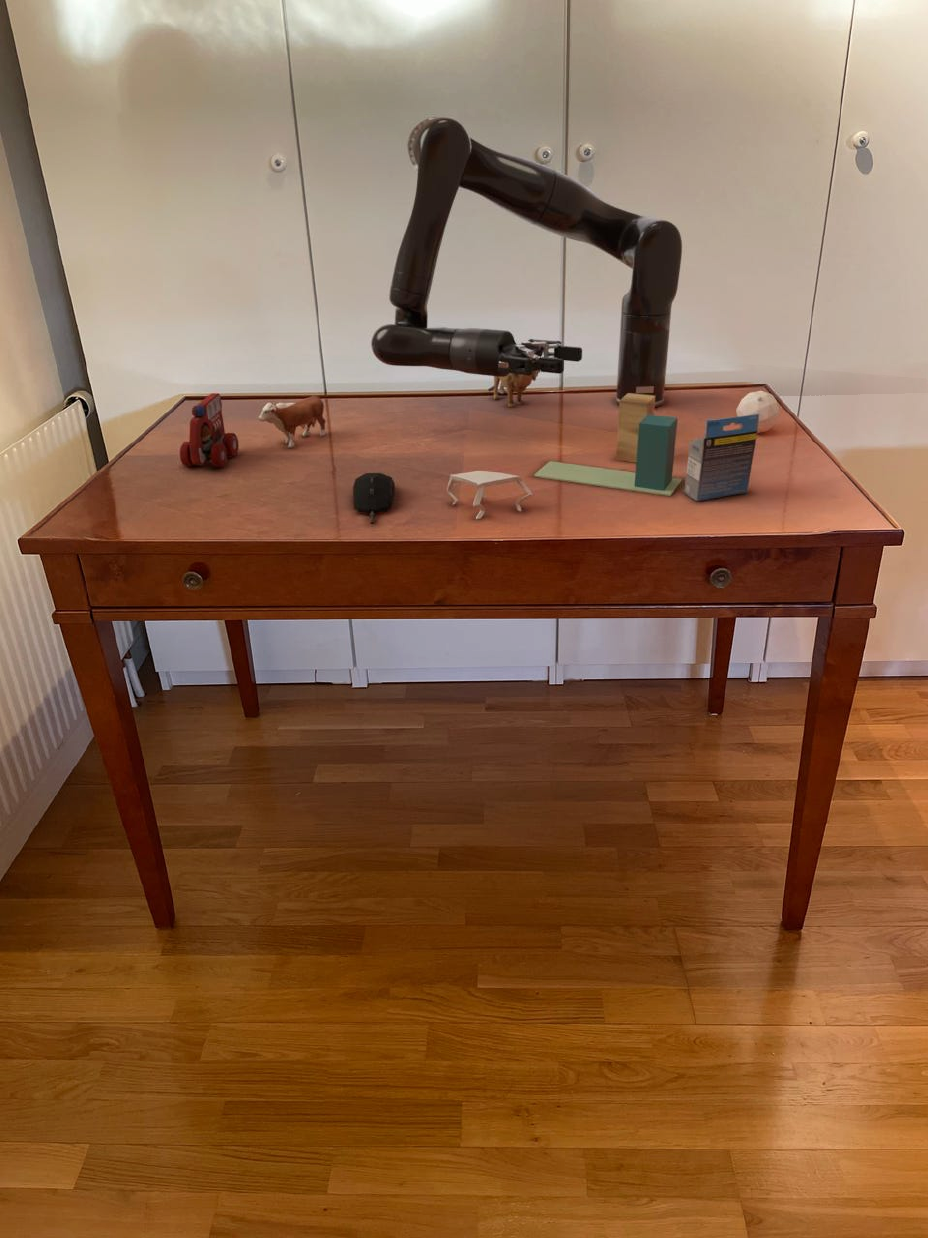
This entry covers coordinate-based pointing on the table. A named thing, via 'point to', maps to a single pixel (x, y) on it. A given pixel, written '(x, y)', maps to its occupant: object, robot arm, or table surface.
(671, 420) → the teal block
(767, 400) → the ornament
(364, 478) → the gaming mouse
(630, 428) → the birch block
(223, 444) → the toy fire truck
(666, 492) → the sage strip
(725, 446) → the label tape box
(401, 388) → the table surface
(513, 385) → the lion figurine
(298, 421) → the bull figurine
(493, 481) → the beige toy table
